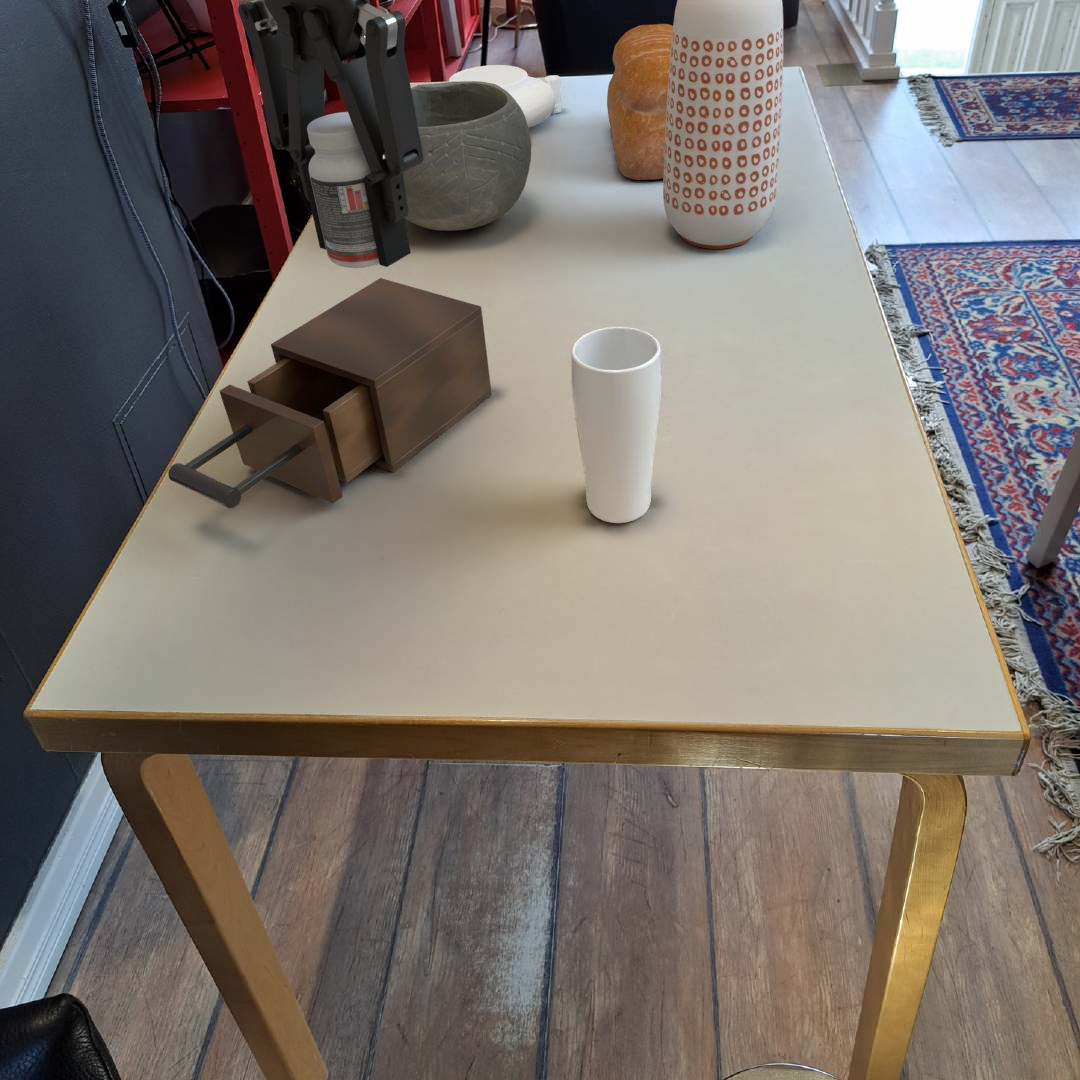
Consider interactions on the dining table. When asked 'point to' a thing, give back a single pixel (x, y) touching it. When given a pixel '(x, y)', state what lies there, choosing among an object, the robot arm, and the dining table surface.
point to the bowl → (466, 155)
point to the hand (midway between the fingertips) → (364, 249)
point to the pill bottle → (341, 191)
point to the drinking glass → (617, 418)
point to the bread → (640, 100)
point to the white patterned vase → (723, 119)
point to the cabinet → (401, 360)
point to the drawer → (292, 433)
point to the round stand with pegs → (519, 89)
